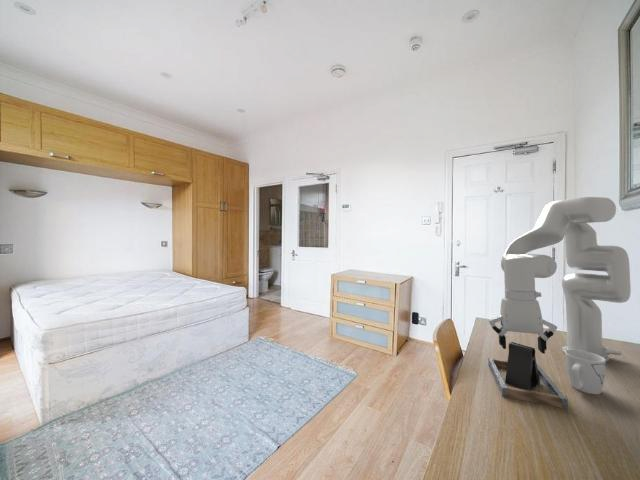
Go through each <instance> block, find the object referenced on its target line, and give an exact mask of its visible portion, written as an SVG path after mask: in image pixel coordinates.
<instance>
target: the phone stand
mask: <svg viewBox="0 0 640 480" xmlns="http://www.w3.org/2000/svg"><path fill="white" fill-rule="evenodd" d="M507 356H508V357H507V361H508V363H507V369H506V373H505V380H504V383H505V384H506V385H509V386H511V387H513V388H519V389H524V390H530V391H533V390H534V389H535V388H537V386H539V385H540V384H541V380H540V378H539V373H538V368H537V365H538V363H537V357H536V349H535V348H534V347H531V346H528V345H525V344H524V345H523V344H521V343H517V342H514V341H511V342H509V343H508V355H507Z"/></svg>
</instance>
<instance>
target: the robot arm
mask: <svg viewBox="0 0 640 480" xmlns="http://www.w3.org/2000/svg"><path fill="white" fill-rule="evenodd" d="M616 213H617V206H616V204H615V202H614V201H613V200H612V199H611V198H608V197H604V196H603V197H600V196H597V197H596V196H584V197H575V198H568V199H567V198H565V199H559V200H555V201H554V200H553V201H551V202H549V203H548V204H545V206H544V207H543V209H542V211H541V213H540V215H539V217H538V219H537V220H536V222H535V225H534V227H533V229H531V230H529V231H528V232H525V233H524V234H522V235H521V236H519V237H517V238H515V239H514V240H513V241H512V242H510V243H509V245H508V246H507V247H506V248H505V249H506V250H505V251H504V253H503V254H502V255H503V256H502V258H501V260H500V261H501V262H500V267H501V269H502V271H503V274H504V276H503V277H504V278H503V279H504V297H502V299H501V302H500V314H499V315H498V316H495V317H493V318H490V319H488V320H487V321H488V323H489V325H490V326H491V328H492V329H493V331H494V332H496V334H498V343H499V345H500V346H501V348H502V349H503V350H506V349H507V337H506V336H505V335H506V334H507V333H508V332H516V333H524V334H535V335H536V334H537V335H538V337H537V350H538V351H539V352H540V353H541V354H542V355H543V354H545V353H546V351H547V349H548V347H547V341H548V340H549V339H550V338H551V337H553V336H554V334H555V332H556V331H557V329H558V326H557V325H556V324H554V323H552V322H549V321H548V320H545V319H544V318H543V316H542V309H541V307H540V306H541V305H540V302H539V300H537V298H541V297H542V292H541V291H539V292H538V291H536V280H535V279H536V278H537V279H539V278H540V279H546V278H550V277H552V276H553V275H554V274H555V273H556V271H557V267H558V266H557V265H558V264H557V262H556V261H555V259H554V258H553V257H551V256H549V255H547V254H536V253H535V254H532V253H530V252H532V251H535V250H539V249H543V248H546V247H549V246H553V245H556V244H558V243H560V242H562V241H563V239H564V240H565V259H566V265H568V267H570V268H571V269H574V270H579V271H590V272H591V271H593V272H606V273H607V274H595V273H583V272H580V273H579V272H574V273H572V272H571V273H568V274H566V275H564V276H563V277H562V280H561V285H562V291H563V293H564V300H565V311H566V312H565V314H566V317H565V318H566V319H565V320H566V344H567V345H564V346H562V347H561V350H562V352H563V353H564V354H565V351H566V350H581V351H586V352H590V353H594V354H597V355H599V356H601V357H603V358H604V359H605V361H606V363H607V362H609V361H610V355H613V356H622V355H623V354H622V351H621V350H620V349H615V348H614V349H613V348H612V347H608V346H607V347H606V346H604V345H603V320H602V318H603V317H602V316H603V315H602V310H601V308H600V307H599V306H598V305H597V303H596V302H595V301H601V302H607V303H609V302H610V303H616V304H617V303H619V304H620V303H621V304H622V303H626V302H628V301H629V300H630V297H631V271H630V270H631V269H630V257H629V255H628V252H627V251H626V249H624V248H623V247H622V246H618V245H598V242H597V241H598V240H597V232H596V230H595V229H594V228H593V227H592V226H591V225H590V224H591V223H604V222H606V223H607V222H610V221H611V220H612V219H613V218H614V217H615V216H616ZM499 322H500V325H501V327H498V326H497V325H496V323H499ZM544 326H546V327H548V329H547V330H545V331H544ZM543 331H544V332H543Z"/></svg>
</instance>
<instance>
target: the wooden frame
mask: <svg viewBox="0 0 640 480" xmlns="http://www.w3.org/2000/svg"><path fill="white" fill-rule="evenodd" d="M487 361H488V366H489V369H490V371H491V374H492V377H494V380H495V382H496V385H497V387H498V389H499V391H500V394H501V396H502V397H505V398H510V399H515V400H520V401H525V402H529V403H535V404H540V405H546V406H550V407H551V406H552V407H555V408H561V409H566V410H568V409H569V405H568V404H569V403H568V398H567V397H566V396H565V394H564V393H563V392H562V391H561V390H560V389H559V388H558V387H557V385H556V384H555V383H554V381H553V380H552V379H551V378H550V377H549V376H548V374H547V373H546V371H544V369H542V367H541V366H540V365H539V364H537V368H538V373H539V378H540V382H541V383H542V384H543V385H544V387H545V388H546V389H547V390H548V391H549V393H547V392H546V393H545V392H541V391H540V392H539V391H536V390H534V391H533V390H531V391H530V390H524V389H519V388H516V387H514V386H506V385H507V384H506V383H505V380H504V379H503V377H502V375H501V373H500V371H499V369H506V370H507V363H508V359H507V360H505V359H500V358H499V359H498V358H491V357H488V359H487Z"/></svg>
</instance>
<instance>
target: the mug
mask: <svg viewBox="0 0 640 480" xmlns="http://www.w3.org/2000/svg"><path fill="white" fill-rule="evenodd" d="M564 357H565V365H566V369H567V370H566V371H567V375H568V378H569V382H570V385H571V386H572V388H574V389H576V390H577V391H578V392H579V391H580V392H582V393H585V394H590V395H600V394H601V393H602V390H603V388H604V387H603V386H604V382H605V377H606V365H607V364H606V363H607V362H606V361H605V359H604V358H603V357H601V356H599V355H597V354H594V353H590V352H586V351H581V350H566V351H565V353H564Z"/></svg>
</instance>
